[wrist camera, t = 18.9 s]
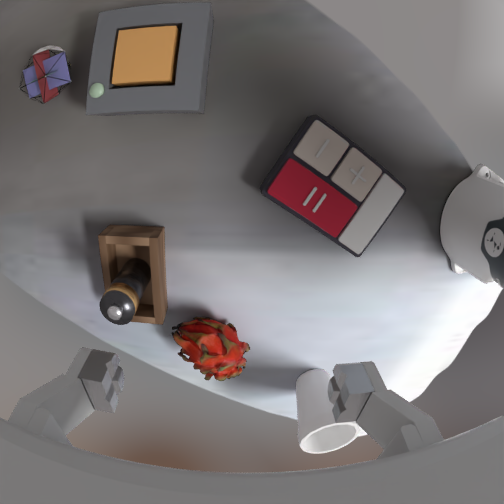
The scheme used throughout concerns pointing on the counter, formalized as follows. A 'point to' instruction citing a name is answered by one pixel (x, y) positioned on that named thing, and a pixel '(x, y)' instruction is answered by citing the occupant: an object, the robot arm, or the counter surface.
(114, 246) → the box
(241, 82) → the counter surface
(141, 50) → the button
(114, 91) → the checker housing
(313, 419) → the foam cup
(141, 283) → the battery cell
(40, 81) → the geometric puzzle
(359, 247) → the calculator
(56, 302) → the counter surface
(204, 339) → the dragon fruit
